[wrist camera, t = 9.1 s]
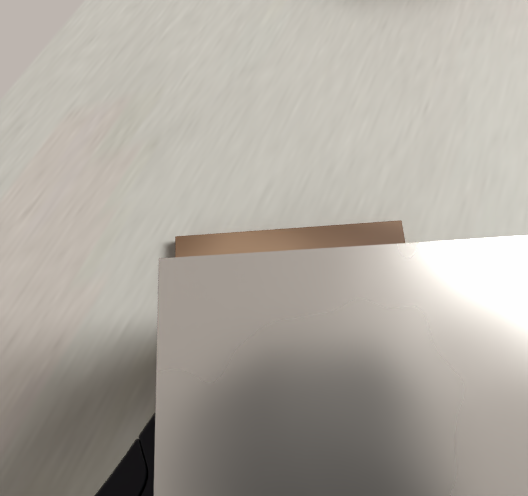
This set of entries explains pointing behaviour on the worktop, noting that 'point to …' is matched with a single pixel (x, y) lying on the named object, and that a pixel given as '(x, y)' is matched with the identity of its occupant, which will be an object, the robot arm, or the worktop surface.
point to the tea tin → (344, 371)
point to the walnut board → (291, 239)
